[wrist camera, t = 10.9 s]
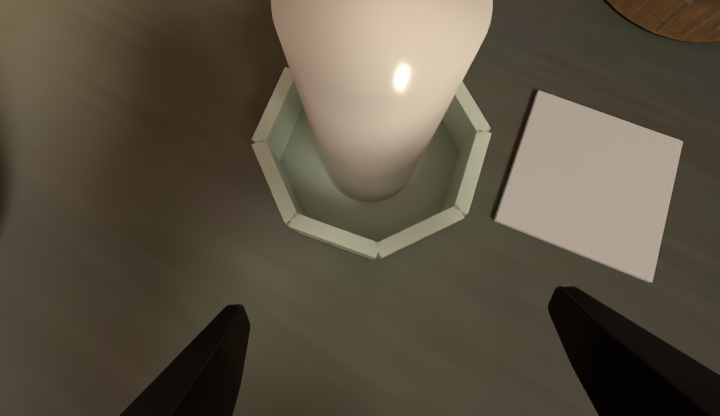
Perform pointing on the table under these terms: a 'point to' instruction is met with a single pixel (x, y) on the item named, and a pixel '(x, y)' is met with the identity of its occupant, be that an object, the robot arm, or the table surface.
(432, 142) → the bowl
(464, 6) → the white cylinder
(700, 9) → the wooden container
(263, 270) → the table surface
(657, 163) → the mat
